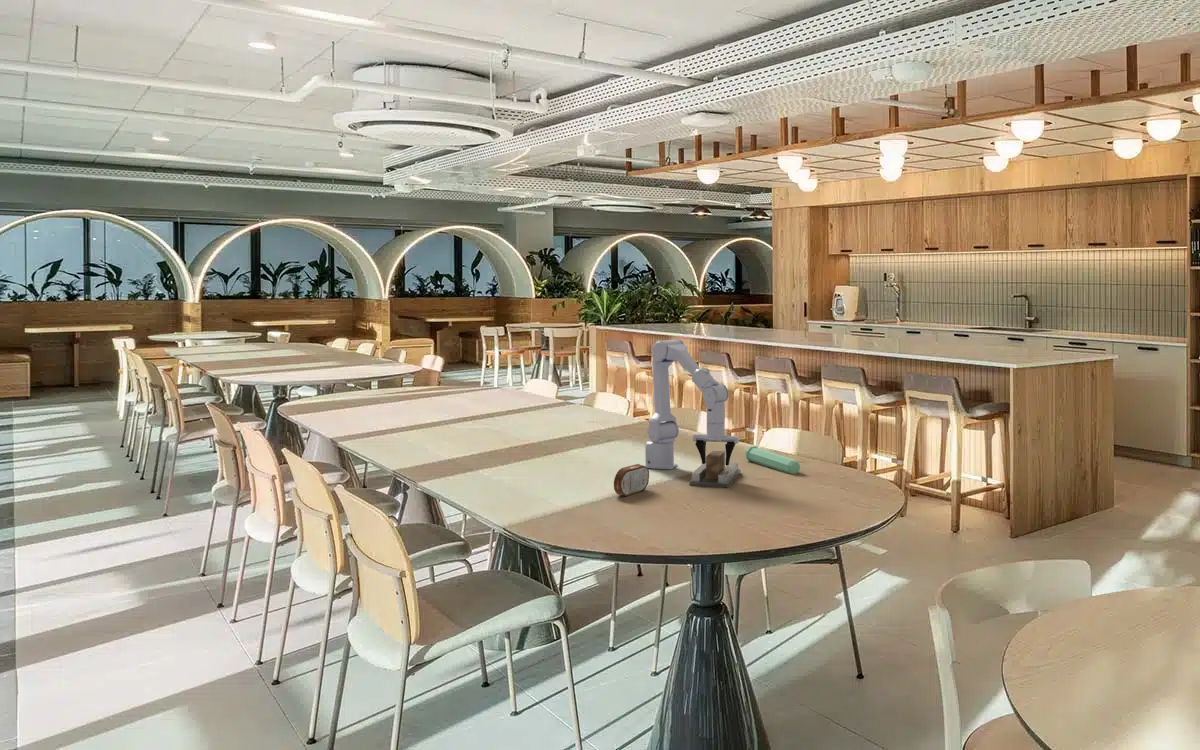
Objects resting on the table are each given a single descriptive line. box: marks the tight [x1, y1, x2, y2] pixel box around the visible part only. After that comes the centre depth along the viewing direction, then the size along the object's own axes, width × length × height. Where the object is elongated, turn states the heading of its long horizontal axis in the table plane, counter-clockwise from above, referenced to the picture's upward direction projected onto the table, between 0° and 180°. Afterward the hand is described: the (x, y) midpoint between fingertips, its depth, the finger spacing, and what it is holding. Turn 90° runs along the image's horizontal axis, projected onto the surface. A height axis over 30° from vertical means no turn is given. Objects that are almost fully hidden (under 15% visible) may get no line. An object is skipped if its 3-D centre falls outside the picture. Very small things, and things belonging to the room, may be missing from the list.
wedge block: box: [706, 450, 726, 479], centre depth 288 cm, size 4×10×7 cm, turn 161°
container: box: [745, 445, 801, 475], centre depth 305 cm, size 6×6×25 cm
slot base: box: [688, 461, 741, 488], centre depth 288 cm, size 12×22×4 cm, turn 161°
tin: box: [613, 463, 650, 497], centre depth 270 cm, size 15×3×8 cm, turn 141°
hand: (715, 464), depth 288 cm, fingers open, 7 cm apart
